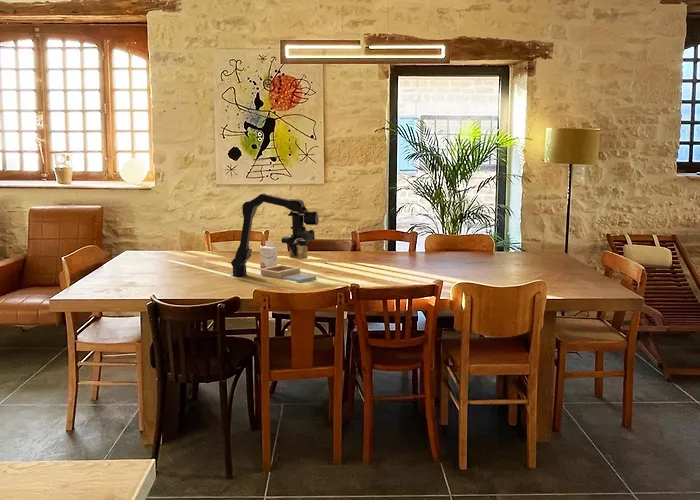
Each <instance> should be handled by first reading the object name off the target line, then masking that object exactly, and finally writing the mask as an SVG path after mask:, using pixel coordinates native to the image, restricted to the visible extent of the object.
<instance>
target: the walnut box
mask: <svg viewBox="0 0 700 500" xmlns="http://www.w3.org/2000/svg"><path fill="white" fill-rule="evenodd" d="M308 255H309V253H308V246H307V245H306V246H300V245H299V244H298V245H297V254H296V256H294V254H293V252H292V250H291V248H290V247H289V258H290V259H297V260H305V259H306V260H307V259H308V257H309V256H308Z"/></svg>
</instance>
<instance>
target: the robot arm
mask: <svg viewBox="0 0 700 500" xmlns="http://www.w3.org/2000/svg"><path fill="white" fill-rule="evenodd" d="M264 203H267V204H270V205H271V204H272V205H275V206H280V207H284V208H286V209H288V210H289V211H290V212H289V213H288V214H287V216H288V217H291V226H290V230H292V231H291V232H292V234H291V235H290V236H283V237H281V243H282V244H287V245H288V247H289V249H290V248H291V250H292V252H293V254H294V256H296V254H297V245H300V246H307V244H308V243H310V242H311V241H314V240H315V239H316V238H315V236H316V235H315V230H313V229H310V230H307V227H306V226H318V225H319V219H320V218H319V214H318V211H317V210H315V211H309V210H308V208H307V207H306V206H305V203H304V201H303V200H302V199H299V198H295V199H294V198H292V199H291V198H290V199H289V198H284V197H283V198H282V197H280V196H276V195H271V194H266V193H261V194H259V195H257V196H255V198H252V199H251V200H249V201H245V202H244V203H242V207H241V209H242V216H243V223H242V227H241V228H242V230H241V235H240V242H239V246H238V247H237V250H236V252H235V255H234V258H233V259H231V261H230V264H231V266H232V274H231V275H230V276H231V277H235V278H241V277H243V278H244V277H247V276H248V274H247V265H246V264H247V262H248V261H249V259H250V258H251V257H252V251H253V248H250V239H251V233H252V226H253V219H254V218H255V215H256V213H257V210H258V207H260V206H261V205H262V204H264ZM304 224H305V225H306V226H305V225H304ZM297 241H298V242H297Z"/></svg>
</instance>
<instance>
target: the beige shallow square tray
mask: <svg viewBox="0 0 700 500" xmlns="http://www.w3.org/2000/svg"><path fill="white" fill-rule="evenodd" d="M302 269H303V268H302V267H296V266H291V265H285V264H279V265H278V264H277V266H273V267H267V268H259V270H260V276H261V275H262V276H266V277H272V278H277V279H283V277H284V276H289V275H294V274H298V273H301V270H302Z"/></svg>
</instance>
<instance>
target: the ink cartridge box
mask: <svg viewBox="0 0 700 500" xmlns="http://www.w3.org/2000/svg"><path fill="white" fill-rule="evenodd" d="M264 243H265V245H264V246H260V247H259V258H260V259H259V262H260V263H259V265H260V266H259V267H260V268H259V269H262V268H267V267H273V266H278V245H277V242H276V241H272V240H265V241H264Z"/></svg>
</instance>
